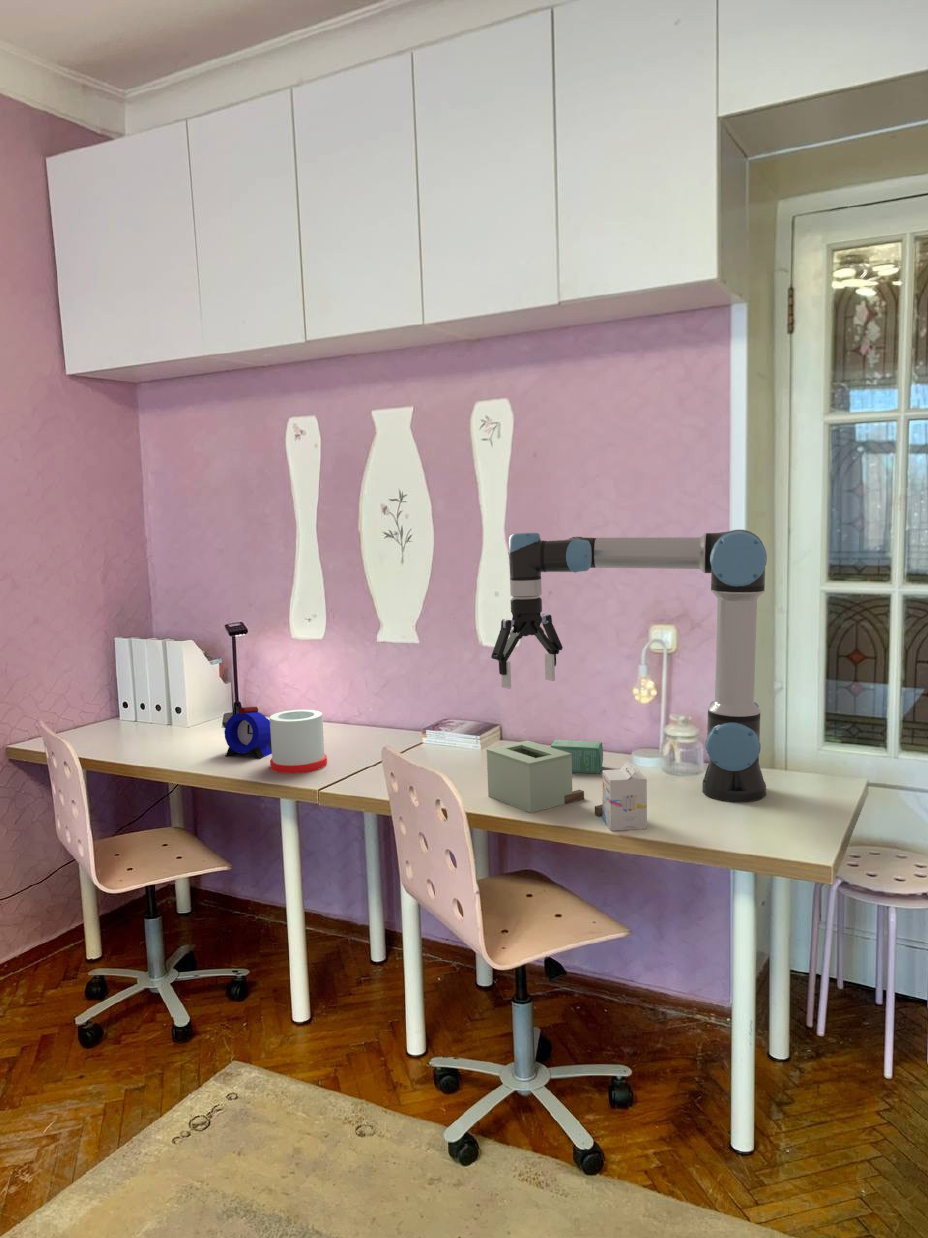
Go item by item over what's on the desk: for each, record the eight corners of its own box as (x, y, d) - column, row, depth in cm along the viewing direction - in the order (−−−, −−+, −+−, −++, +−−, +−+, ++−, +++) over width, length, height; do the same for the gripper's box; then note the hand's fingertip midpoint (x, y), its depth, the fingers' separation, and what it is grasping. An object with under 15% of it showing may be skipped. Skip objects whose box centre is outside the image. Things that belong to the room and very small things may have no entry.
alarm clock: (223, 757, 284) (220, 708, 282) (247, 747, 295) (244, 699, 293) (258, 760, 279) (255, 710, 278) (281, 749, 291) (278, 701, 289)
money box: (572, 801, 231) (571, 753, 230) (530, 813, 224) (529, 763, 222) (529, 785, 245) (527, 740, 244) (488, 796, 238) (486, 749, 236)
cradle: (618, 811, 223) (618, 802, 223) (599, 816, 220) (599, 808, 219) (579, 797, 234) (579, 789, 234) (561, 802, 231) (561, 794, 231)
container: (259, 770, 268) (255, 719, 267) (292, 755, 283) (289, 707, 281) (306, 775, 262) (303, 723, 260) (337, 760, 276) (335, 711, 274)
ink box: (601, 818, 218) (600, 762, 217) (637, 816, 219) (637, 760, 217) (610, 831, 210) (609, 772, 208) (648, 829, 210) (647, 770, 209)
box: (600, 774, 253) (599, 747, 252) (550, 772, 257) (549, 745, 256) (603, 766, 260) (602, 740, 260) (554, 765, 264) (553, 739, 263)
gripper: (555, 591, 239) (557, 675, 241) (474, 600, 225) (478, 689, 227) (575, 593, 233) (577, 678, 235) (493, 602, 219) (496, 693, 221)
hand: (528, 684), depth 231 cm, fingers open, 13 cm apart
